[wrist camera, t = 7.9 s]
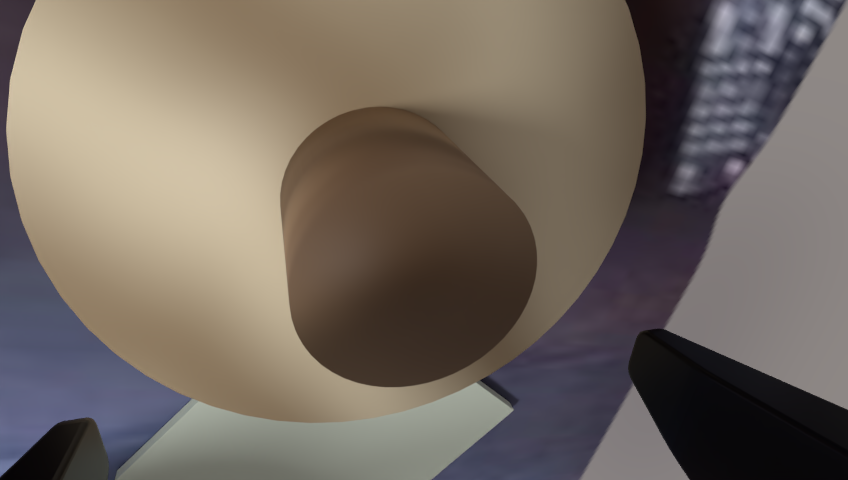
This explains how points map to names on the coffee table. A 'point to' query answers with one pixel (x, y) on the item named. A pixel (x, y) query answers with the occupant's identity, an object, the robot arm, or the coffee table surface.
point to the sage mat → (317, 443)
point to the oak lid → (324, 186)
